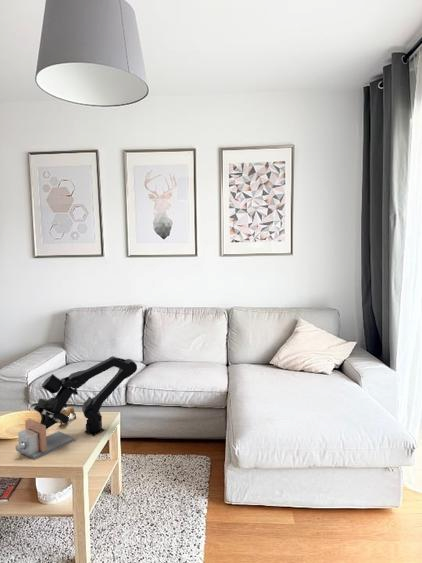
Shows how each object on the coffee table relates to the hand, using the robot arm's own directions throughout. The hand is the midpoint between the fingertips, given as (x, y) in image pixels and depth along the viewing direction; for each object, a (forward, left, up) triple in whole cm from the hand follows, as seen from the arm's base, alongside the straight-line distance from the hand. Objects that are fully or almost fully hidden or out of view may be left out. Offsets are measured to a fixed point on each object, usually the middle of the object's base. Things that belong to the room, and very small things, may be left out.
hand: (38, 432), depth 158 cm
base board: (-4, 0, -7) cm, 8 cm away
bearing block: (+5, 0, -6) cm, 8 cm away
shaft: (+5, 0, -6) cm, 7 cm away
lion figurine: (-22, -13, -7) cm, 27 cm away
